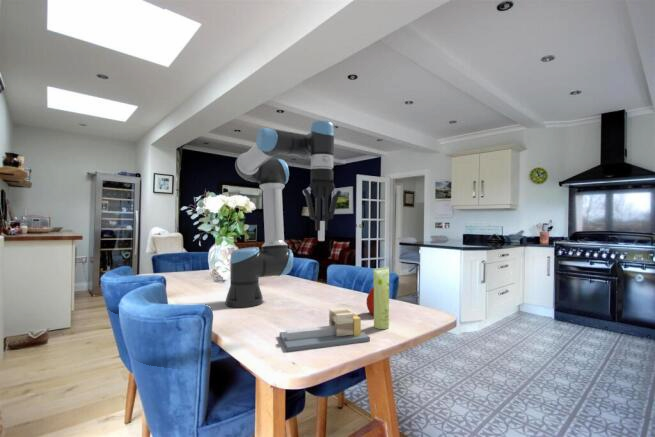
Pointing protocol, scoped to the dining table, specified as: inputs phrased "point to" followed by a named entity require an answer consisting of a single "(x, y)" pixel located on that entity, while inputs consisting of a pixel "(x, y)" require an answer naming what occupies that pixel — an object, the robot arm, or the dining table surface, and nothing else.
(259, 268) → the robot arm
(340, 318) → the beige wooden sliding block
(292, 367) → the dining table surface
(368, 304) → the apple
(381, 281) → the tube
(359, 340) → the rail board
